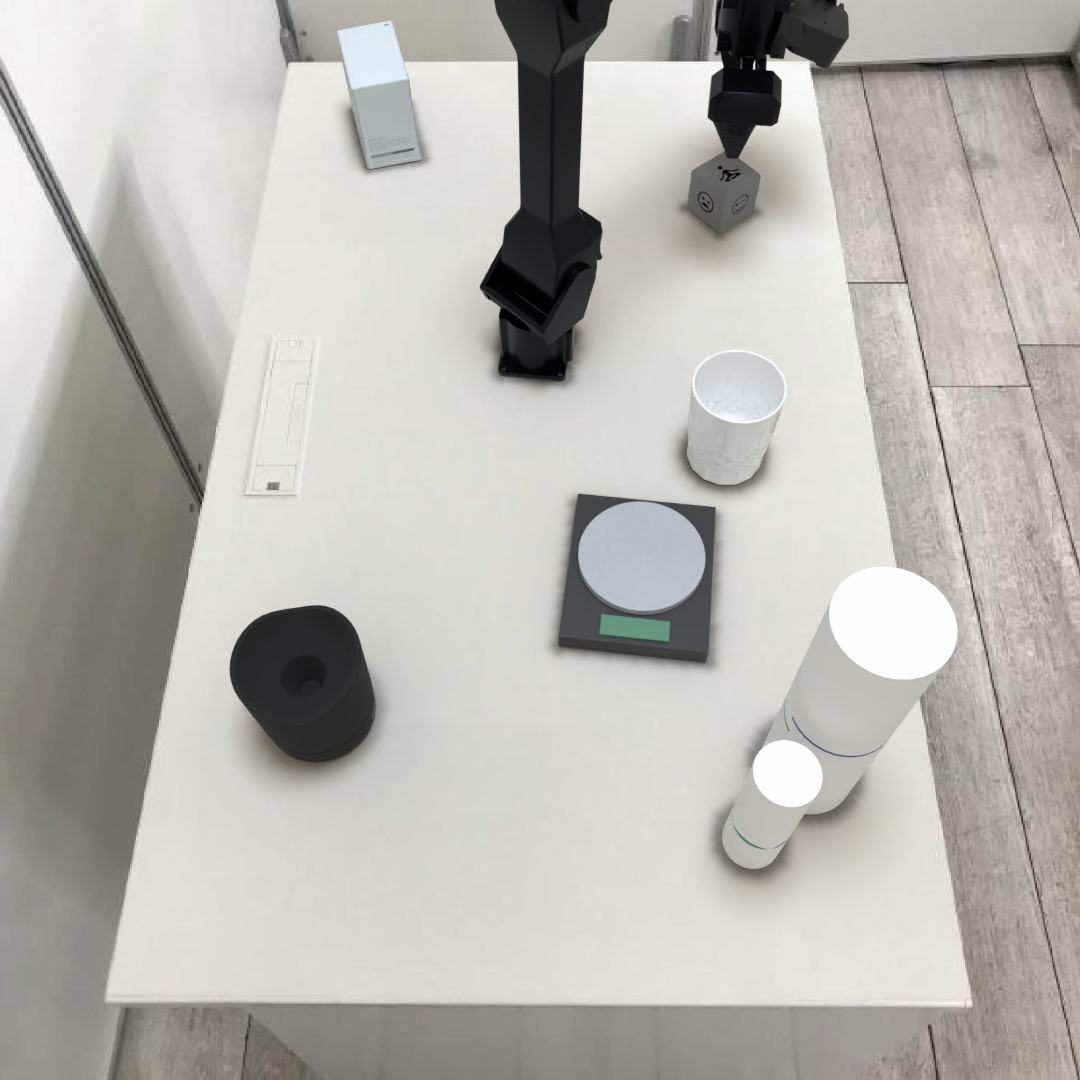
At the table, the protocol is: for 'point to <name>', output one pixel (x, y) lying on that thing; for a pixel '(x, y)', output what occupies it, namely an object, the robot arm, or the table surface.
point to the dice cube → (723, 191)
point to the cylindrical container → (864, 673)
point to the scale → (639, 578)
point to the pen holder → (305, 681)
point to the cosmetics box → (379, 94)
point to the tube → (771, 803)
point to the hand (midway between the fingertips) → (734, 126)
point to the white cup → (733, 414)
